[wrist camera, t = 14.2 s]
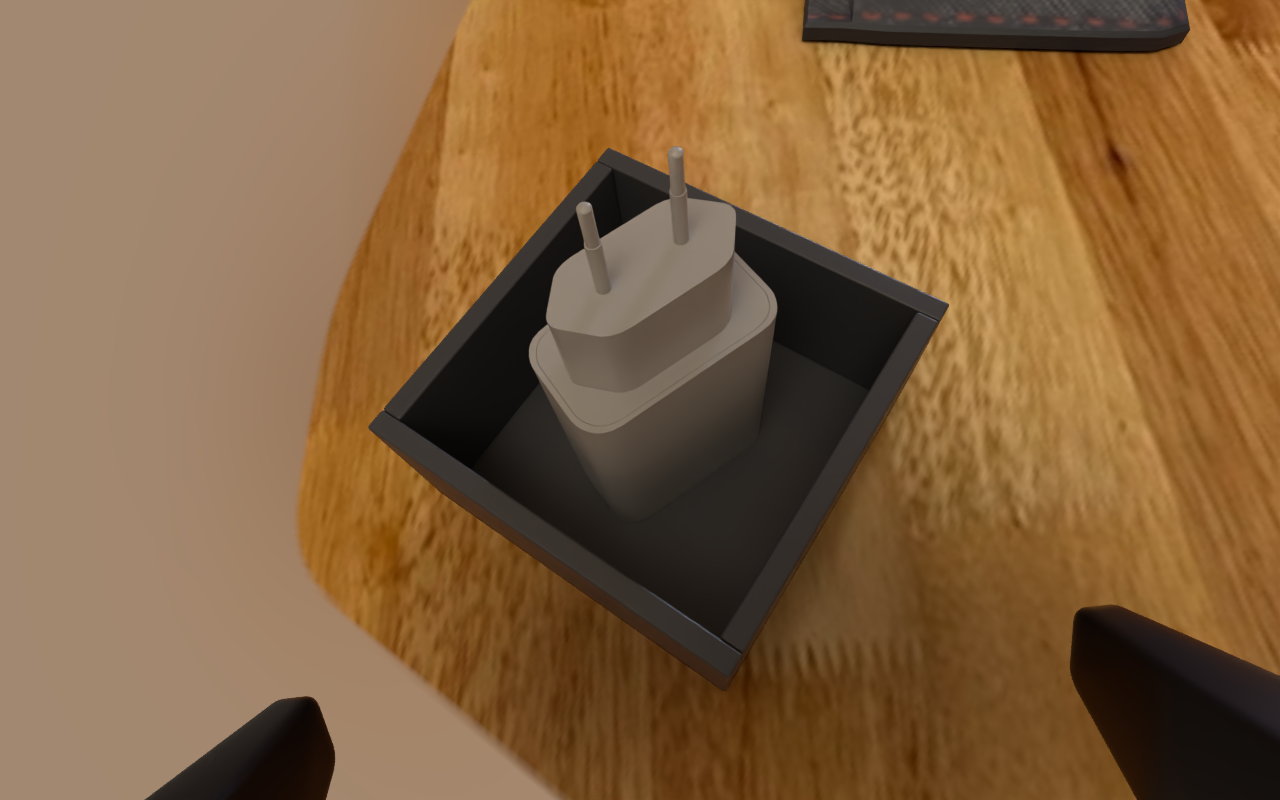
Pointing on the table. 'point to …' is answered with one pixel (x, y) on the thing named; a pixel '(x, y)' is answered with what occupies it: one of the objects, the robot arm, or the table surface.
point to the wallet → (1002, 23)
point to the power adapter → (656, 349)
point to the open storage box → (724, 500)
